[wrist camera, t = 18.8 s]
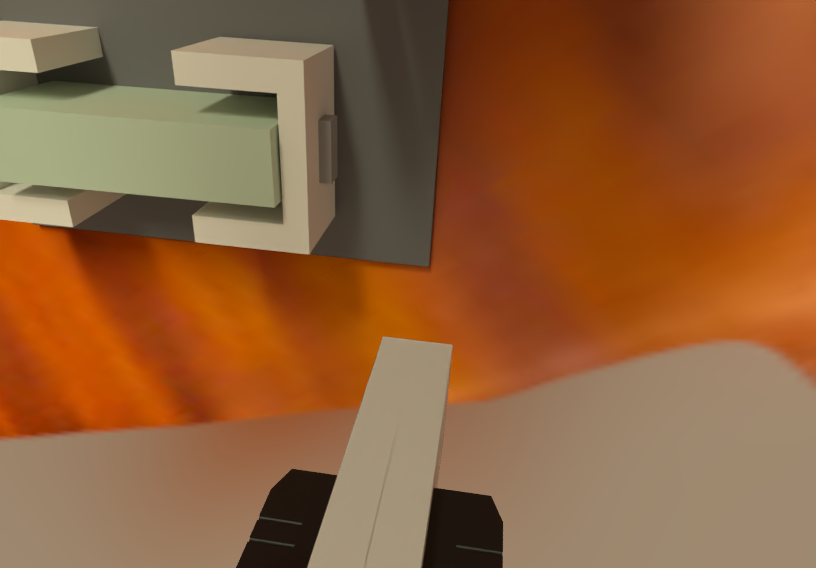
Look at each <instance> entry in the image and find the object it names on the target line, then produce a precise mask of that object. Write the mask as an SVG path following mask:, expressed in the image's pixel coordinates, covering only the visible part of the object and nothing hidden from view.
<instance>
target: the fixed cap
mask: <svg viewBox="0 0 816 568" xmlns="http://www.w3.org/2000/svg"><path fill="white" fill-rule="evenodd" d="M100 57H103V54H102V48H101V43H100V37H99V31H98V27H86V26H72V25H58V24H44V23H30V22H16V21H0V95H3V94H6V93H10V92H13V91H17V90H21V89H24V88H28V87H32V86H35V85H38V80H37V76H36V73H40V72H44V71H48V70H52V69H56V68H60V67H64V66H68V65H72V64H76V63H80V62H84V61H88V60H92V59H96V58H100ZM124 195H126V193H115V192H105V191H95V190H84V189H74V188H63V187H53V186H43V185H32V184H22V183H11V182H1V181H0V219H1V220H11V221H20V222H29V223H38V224H48V225H57V226H66V227H74V226H76V225H78V224H79V223H81V222H82V221H84V220H86V219H87V218H89V217H90V216H92V215H94V214H95V213H97V212H98V211H100V210H102V209H103V208H105V207H106V206H108V205H110V204H111V203H113V202H114V201H116V200H118V199H119V198H121V197H122V196H124Z"/></svg>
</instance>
